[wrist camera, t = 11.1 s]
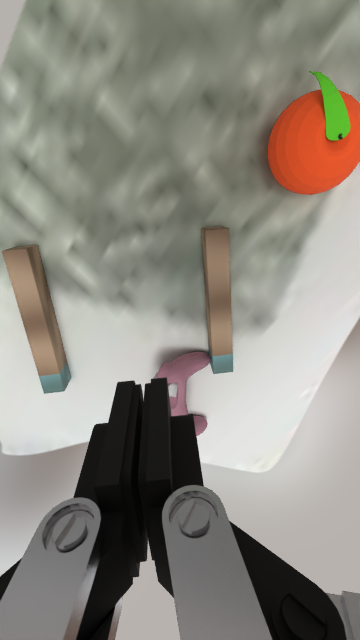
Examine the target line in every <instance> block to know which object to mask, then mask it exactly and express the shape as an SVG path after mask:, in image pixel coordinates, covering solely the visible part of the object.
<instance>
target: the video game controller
mask: <svg viewBox="0 0 360 640" xmlns="http://www.w3.org/2000/svg"><path fill="white" fill-rule="evenodd" d="M209 362H210V356H209V355H208V354H206V353H204V352H192V353H188V354H184V355H182V356H180V357H178V358H176V359H174V360H173V361H171V362H169V363H164V364H163V365H162V366H161V368H160V370H159V372H157V373H156V375H155V377H154V378H164V377H167V381H168V389H169V398H170V407H171V415H172V416H179V415H188V411H187V405H186V401H185V398H186V381H187V379H188V378H189V377H190V376H191V375H193V374H194V373H195V372H197V371H199V370H201V369H203V368H204V367H206V366H207V365H208V364H209ZM193 417H194V424H195V431H196V436H198V435H199V434H201V433H202V432H203V431H204V430H205V429H206V427H207V420H206V419H205V418H203V417H201V416H193Z"/></svg>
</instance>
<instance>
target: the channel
mask: <svg viewBox="0 0 360 640" xmlns="http://www.w3.org/2000/svg"><path fill="white" fill-rule="evenodd" d="M201 231H202V247H203V263H204V279H205V295H206V311H207V328H208V344H209V356H210V365H211V368H212V371H213V374H217V373H226V372H233V351H232V319H231V287H230V255H229V228H226V227H223V226H222V227H212V228H202V229H201ZM2 253H3V257H4V260H5V263H6V267H7V270H8V274H9V277H10V280H11V284H12V287H13V290H14V294H15V297H16V301H17V304H18V307H19V311H20V314H21V317H22V321H23V324H24V327H25V331H26V334H27V338H28V341H29V344H30V348H31V351H32V354H33V358H34V361H35V364H36V368H37V371H38V375H39V378H40V381H41V385H42V388H43V391H44V394H45V393H53V392H62V391H65V389H66V387H67V385H68V383H69V381H70V379H71V376H70V372H69V368H68V364H67V360H66V356H65V352H64V348H63V344H62V340H61V336H60V332H59V328H58V324H57V321H56V317H55V313H54V309H53V305H52V301H51V297H50V293H49V289H48V285H47V281H46V277H45V273H44V269H43V265H42V261H41V257H40V254H39V250H38V246H37V245H32V246H22V247H14V248H11V249H7V250H4V251H2Z"/></svg>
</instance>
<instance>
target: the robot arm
mask: <svg viewBox="0 0 360 640" xmlns="http://www.w3.org/2000/svg"><path fill="white" fill-rule="evenodd" d="M148 541H149V546H150V551H151V556H152V560H154V561H155V566H156V572H157V577H158V581H159V583H160V584H161V585H162V586H163V587H164V588H165V589H166V590H167V591H168V592H169V593H170V594H171V595H172V597H173V598H174V600H175V607H176V613H177V620H178V626H179V632H180V639H181V640H360V594H358V593H352V592H346V591H342V595H335V594H329V593H325V592H323V590H322V589H320V588H319V587H318V586H317V585H316V584H315V583H313V582H312V581H311V580H309V579H308V578H306V577H305V576H304V575H302V574H301V573H300V572H298V571H297V570H295V569H294V568H293V567H292V566H290V565H289V564H287V563H286V562H285V561H283V560H282V559H281V558H279V557H278V556H277V555H275V554H274V553H272V552H271V551H270V550H268V549H267V548H265V547H264V546H263V545H261V544H260V543H259V542H257V541H256V540H255V539H253V538H252V537H251V536H249V535H248V534H247V533H245V532H244V531H242V530H241V529H240V528H238V527H237V526H236V525H234V524H233V523H231V522H230V521H229V520H228V517H227V514H226V511H225V508H224V506H223V504H222V502H221V500H220V498H219V497H218V496H217V495H216V494H215V493H214V492H213V491H212V490H210V489H208V488H206V487H204V485H203V479H202V472H201V465H200V458H199V451H198V444H197V438H196V431H195V424H194V417H193V414H189V415H179V416H172V415H171V407H170V398H169V389H168V381H167V377H164V378H154V379H151V383H147V384H145V392H144V400H143V394H142V388H141V384H138V385H135V381H125V382H118V383H117V387H116V391H115V396H114V400H113V404H112V409H111V413H110V418H109V422H108V423H103V424H96V425H95V426H94V428H93V431H92V435H91V438H90V442H89V445H88V449H87V452H86V456H85V459H84V463H83V466H82V470H81V473H80V477H79V480H78V484H77V487H76V491H75V494H74V498H72V499H69V500H66V501H64V502H62V503H60V504H59V505H57V506H55V507H54V508H53V509H52V510H51V511H50V512H49V513H48V514H47V515H46V516H45V517H44V518H43V520H42V521H41V523H40V524H39V526H38V528H37V530H36V532H35V534H34V536H33V538H32V540H31V542H30V544H29V546H28V548H27V550H26V551H25V553H24V555H23V557H22V558H21V559H20V560H19V561H18V562H17V563H16V564H14V565H13V566H12V567H11V568H10V569H9V570H7V571H6V572H5V573H4V574H3V575H2V576H1V577H0V640H115V637H116V632H117V627H118V622H119V617H120V613H121V608H122V596H123V595H124V594H125V593H126V591H127V590H128V589H129V588H130V587H131V585H132V584H133V577H139V567H140V562H143V561H146V560H147V544H148Z"/></svg>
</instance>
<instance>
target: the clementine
mask: <svg viewBox="0 0 360 640" xmlns="http://www.w3.org/2000/svg"><path fill="white" fill-rule="evenodd" d="M310 73H312V74H314V75H316V77H317V79H318V81H319V83H320V87H321V90H317V91H313V92H310V93H307V94H305V95H303V96H302V97H300V98H298V99H296V100H295V101H293V102H292V103H291V104H290V105H289V106H288V107H287V108H286V109H285V110H284V111H283V113H282V114H281V115H280V117H279V118H278V120H277V122H276V123H275V125H274V126H273V129H272V132H271V135H270V138H269V143H268V151H267V152H268V161H269V166H270V169H271V171H272V174H273V176H274V177H275V178H276V180H277V181H278V183H279V184H280V185H282V186H283V187H284V188H286V189H287V190H290V191H292V192H295V193H298V194H308V195H313V194H317V193H321V192H324V191H327V190H329V189H331V188H333V187H335V186H337V185H339V184H340V183H341V182H342V181H343V180H344V179H346V178H347V177H348V176H349V175H350V174H351V172H352V171H353V170H354V169H355V167H356V166H357V164H358V163H359V162H360V103H359V102H358V101H357V100H355V99H354V98H353V97H352V96H351V95H349V94H347V93H344V92H342V91H339V90H337V88H336V87H335V86H334V84H333V83H332V82H331V81H330V79H329V78H328V77H326V76H325V75H323V74H322V73H320V72H311V71H310Z"/></svg>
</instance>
